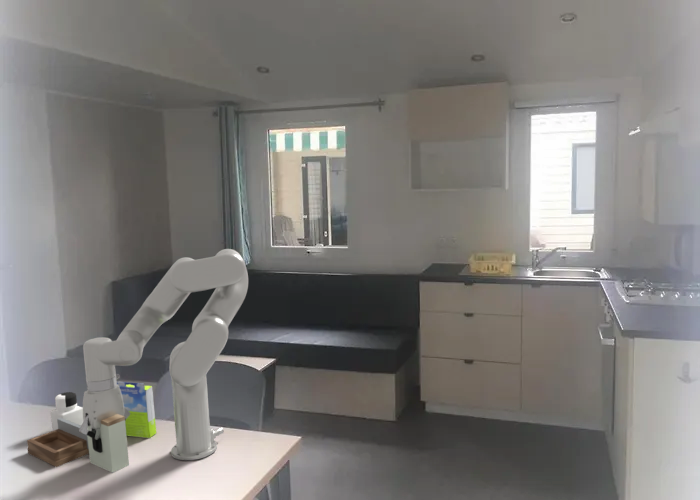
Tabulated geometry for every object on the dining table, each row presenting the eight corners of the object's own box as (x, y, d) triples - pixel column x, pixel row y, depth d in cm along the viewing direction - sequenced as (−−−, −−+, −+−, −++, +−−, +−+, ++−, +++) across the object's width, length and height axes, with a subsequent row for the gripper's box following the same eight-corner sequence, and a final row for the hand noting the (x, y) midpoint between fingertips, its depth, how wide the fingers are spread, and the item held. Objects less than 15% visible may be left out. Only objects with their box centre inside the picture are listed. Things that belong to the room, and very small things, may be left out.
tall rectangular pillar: (106, 455, 174) (101, 408, 173) (129, 465, 168) (124, 416, 166) (90, 462, 170) (85, 414, 169) (112, 472, 164) (107, 422, 162)
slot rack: (63, 439, 186) (61, 417, 185) (92, 452, 177) (90, 429, 176) (28, 453, 178) (25, 430, 177) (56, 467, 168) (53, 443, 167)
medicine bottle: (73, 424, 198) (70, 388, 196) (86, 429, 194) (82, 392, 192) (52, 432, 192) (48, 395, 191) (64, 437, 188) (60, 399, 186)
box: (157, 433, 188) (152, 379, 186) (149, 439, 184) (144, 383, 182) (127, 430, 191) (122, 377, 189) (119, 436, 187) (114, 381, 185)
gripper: (121, 372, 175) (127, 433, 177) (64, 390, 162) (70, 456, 164) (137, 376, 171) (142, 439, 173) (79, 396, 157) (86, 463, 159)
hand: (107, 446), depth 168 cm, fingers closed on tall rectangular pillar, 5 cm apart
